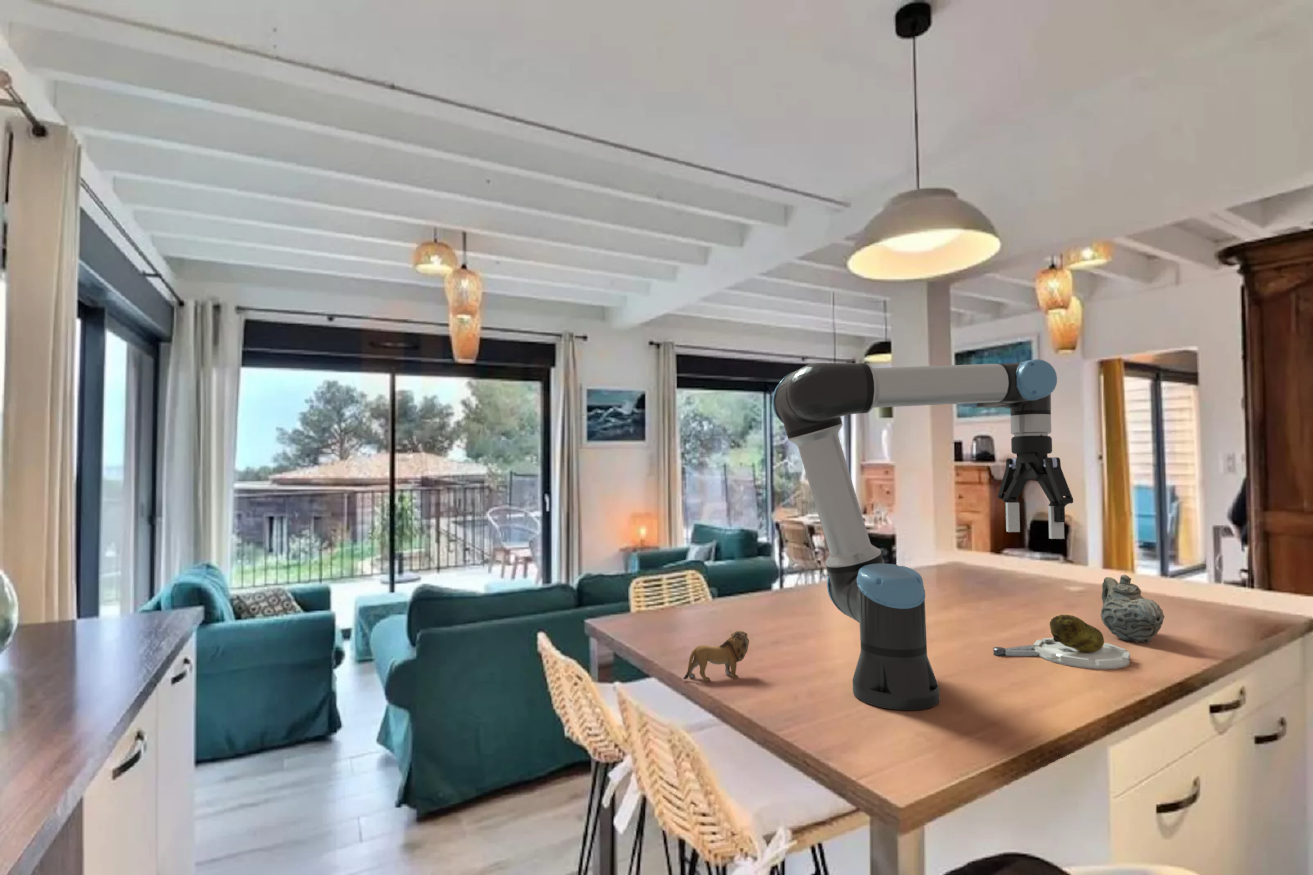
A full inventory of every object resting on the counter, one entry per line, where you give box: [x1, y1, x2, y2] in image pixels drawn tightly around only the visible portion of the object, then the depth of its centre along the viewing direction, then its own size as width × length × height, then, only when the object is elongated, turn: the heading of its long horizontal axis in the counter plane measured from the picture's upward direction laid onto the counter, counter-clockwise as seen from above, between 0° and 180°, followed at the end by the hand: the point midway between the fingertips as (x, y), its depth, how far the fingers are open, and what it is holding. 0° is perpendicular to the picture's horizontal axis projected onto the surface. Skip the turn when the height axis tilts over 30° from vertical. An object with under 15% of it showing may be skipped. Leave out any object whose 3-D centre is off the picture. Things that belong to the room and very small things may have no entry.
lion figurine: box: [683, 629, 750, 682], centre depth 130 cm, size 15×5×9 cm, turn 108°
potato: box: [1049, 614, 1105, 652], centre depth 137 cm, size 8×13×8 cm, turn 95°
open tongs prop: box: [992, 641, 1073, 657], centre depth 140 cm, size 16×9×1 cm, turn 94°
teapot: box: [1100, 574, 1165, 643], centre depth 149 cm, size 21×12×15 cm, turn 171°
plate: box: [1032, 637, 1131, 670], centre depth 137 cm, size 17×17×2 cm
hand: (1033, 535), depth 134 cm, fingers open, 13 cm apart
